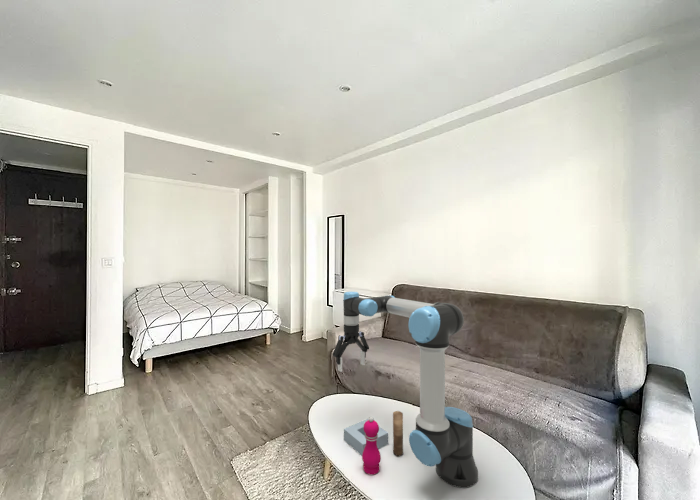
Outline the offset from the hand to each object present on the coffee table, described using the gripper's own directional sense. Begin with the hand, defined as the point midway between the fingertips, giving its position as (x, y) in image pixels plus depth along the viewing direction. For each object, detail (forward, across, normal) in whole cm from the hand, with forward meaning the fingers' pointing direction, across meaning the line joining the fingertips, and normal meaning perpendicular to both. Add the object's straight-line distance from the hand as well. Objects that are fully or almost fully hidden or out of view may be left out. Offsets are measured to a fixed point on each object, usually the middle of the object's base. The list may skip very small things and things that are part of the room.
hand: (351, 367), depth 148 cm
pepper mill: (+28, +11, +28) cm, 42 cm away
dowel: (+28, -3, +28) cm, 40 cm away
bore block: (+28, +3, +14) cm, 31 cm away
